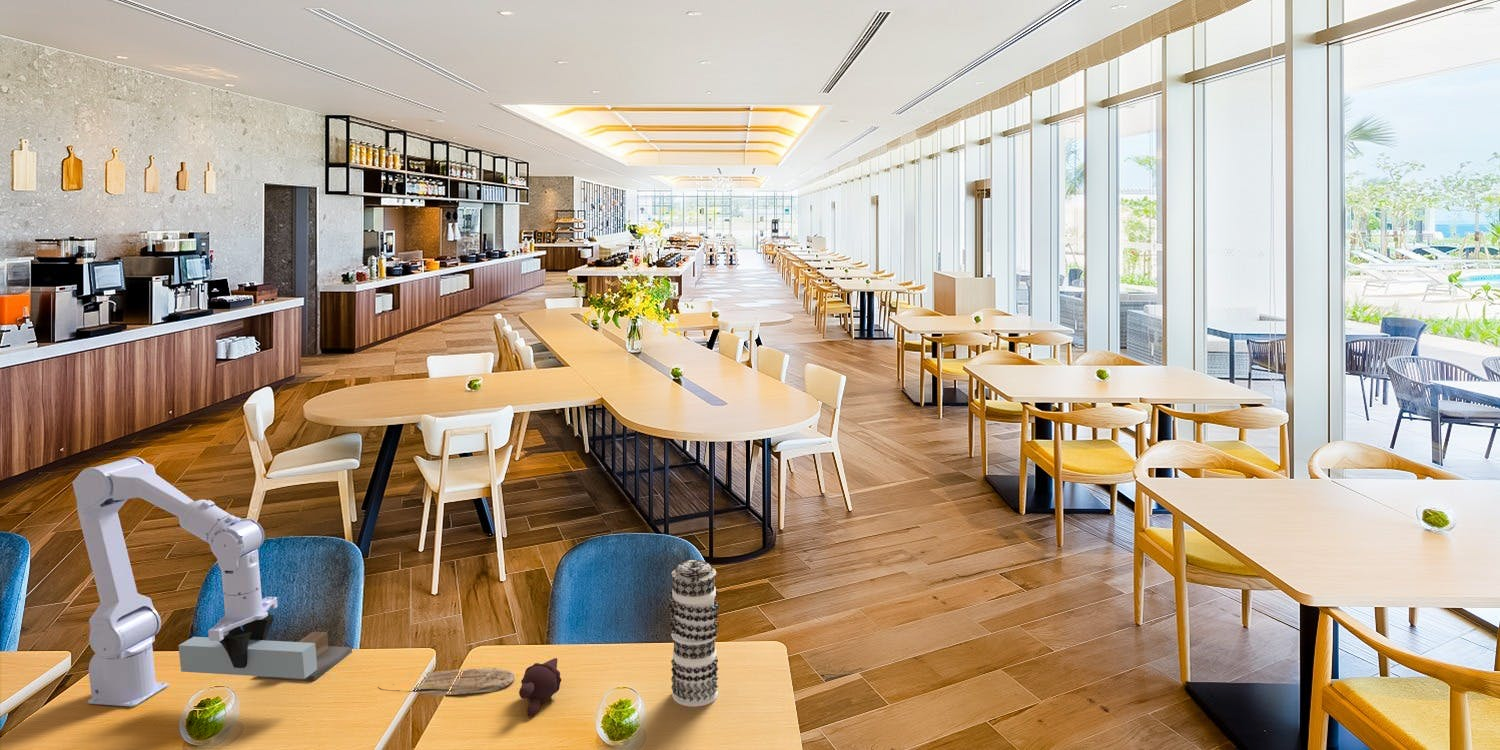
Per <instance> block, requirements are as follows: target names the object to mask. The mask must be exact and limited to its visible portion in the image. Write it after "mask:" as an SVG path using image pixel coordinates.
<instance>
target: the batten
mask: <svg viewBox="0 0 1500 750" xmlns="http://www.w3.org/2000/svg"><path fill="white" fill-rule="evenodd" d="M178 653H179V663H180V665H179V666H180V672H181V673H182V672H183V673H198V674H215V675H216V674H217V675H231V676H232V675H233V676H249V677H250V676H251V677H257V676H264V677H281V678H298V679H305V678H307V677H308V676H309V675H310V674H312V673H313V672H314V671H316V670H317V659H316V647H315V643H305V642H299V641H286V640H285V641H283V640H282V641H281V640H267V639H266V640H249V642H248V649H247V655H248V660H247V666H246V667H245V668H234V667H233V664H232V662H231V660H230V657H229V655H228V653H227V651H226V650H225V648H224V647H223V645H222V644H221V643H220V642H219V641H209V636H208V637H205V636H192V637H191V638H189V639H187V640H185V641H184V642H181V643H180V644H178Z"/></svg>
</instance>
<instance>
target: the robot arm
mask: <svg viewBox="0 0 1500 750" xmlns="http://www.w3.org/2000/svg"><path fill="white" fill-rule="evenodd" d="M71 483H72V487H73V491H74V494H75V495H74V496H75V499H76V511H77V515H78V519H79V523H80V526H81V531H82V534H83V538H84V543H85V547H86V551H87V554H88V559H89V562H90V566H91V570H92V574H93V579H94V582H95V587H96V589H97V595H98V598H99V605H98V607H97V608H96V609H95V611H94V612H93V613H92V615H91V616H90V618H89V620H88V624H89V626H90V631H89V635H88V641H89V645H90V648H91V649H92V651H93V652H94V654H93V656H92V657H91V658H90V661H89V665H88V675H89V684H90V685H89V686H90V694H91V698H90V699H89V700H87V703H88V704H91V705H105V706H116V707H131V708H132V707H133V708H134V707H136V706H137V705H139V704H140V703H143V702H144V701H146V700H147V699H149V698H150V697H152V696H154V695H155V694H157V693H158V692H160V691H162V690H163V689H165V688H167V687H168V686H169V682H165V681H164V682H163V681H162V682H161V681H157V678H156V669H155V660H154V659H155V658H154V652H153V651H154V649H153V643H154V642H155V641H156V639H155V638H156V637H155V636H156V635H157V634H158V633H159V632H160V631H161V628H162V619H161V617H160V614H159V613H158V611H157V610H156V609H155V607H154V605H153V601H152V598H150V597H148V596H145V595H143V594H140V593H138V589H137V585H136V581H135V577H134V573H133V568H132V565H131V562H130V556H129V553H128V549H127V545H126V541H125V538H124V533H123V529H122V526H121V521H120V517H119V513H118V512H119V511H120V510H121V508H122V507H123V506H124V505H125V503H126V502H127V500H130V499H137V498H139V499H142V500H144V501H146V502H149V503H150V504H152V505H154V506H155V507H158V508H160V509H161V510H164V511H166V512H168V513H170V514H172V515H174V516H176V517H178V520H179V521H178V522H179V526H180V527H181V528H182V529H184V530H185V531H187V532H188V533H191V534H193V535H194V536H195V537H197V538H199V539H201V540H202V541H204V542H205V543H207V544H209V547H210V550H211V553H212V554H213V555H214V556H215V558H216V560H217V564H218V565H217V566H218V567H219V569H220V570H221V580H222V593H223V604H224V616H223V617H221V619H220V620H219V621H218V622H217V623H216V624H215V625H214V626H212V627H211V628H210V629H207V631H208V632H207V633H208V637H209V641H219V642H220V643H221V644H222V645H223V647H224V648H225V650H226V651H227V653H228V655H229V657H230V660H231V662H232V664H233V667H234V668H245V667H246V666H247V660H248V655H247V649H248V642H249V640H266V641H267V637H268V634H269V632H270V629H271V627H272V624H273V622H274V621H275V614H270V613H268V611H269V610H275V609H277V608H278V607H279V606H278V597H277V596H266V597H264V598H263V597H262V586H261V585H262V584H261V582H262V581H261V572H260V560H259V550H258V548H260V547H261V546H262V545H263V544H264V541H265V531H264V528H263V526H261V524H260V523H259V522H257V521H256V520H255V519H254V518H251V517H246V518H241V517H239V516H238V517H237V516H235V515H234V514H230V513H228V512H227V511H226V510H223V509H222V508H220V507H219V506H217V505H216V503H215V502H214V501H213V500H210V499H208V500H207V499H198V500H193V498H190V497H189V496H188V495H186V494H185V493H183V492H182V491H180V490H179V489H178V488H176V487H175V486H173V484H171V483H169V482H168V481H166V480H165V479H163V478H162V477H161V476H159V475H158V474H157V473H156V468H155V466H154V465H153V464H151V463H148V462H146V461H145V460H144V459H143V458H142V457H139V456H127V457H126V458H124V459H120V460H116V461H113V462H109V463H106V464H101V465H97V466H94V467H93V466H90V467H86V468H85V469H82V470H81V471H80V473H78V475H77V477H75V479H74V480H73V481H72V482H71Z"/></svg>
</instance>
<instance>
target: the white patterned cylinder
mask: <svg viewBox="0 0 1500 750" xmlns="http://www.w3.org/2000/svg"><path fill="white" fill-rule="evenodd" d="M671 576H672V590H671V591H670V592H669V595H668V597H667V598H668V600H669V604H668V607H669V611H670V614H669V619H670V622H669V625H670V630H672V632H671V633H670V634H671V637H672V640H673V651H672V659H671V661H670V662H671V663H670V664H671V666H672V667H671V672H672V673H671V674H672V676H671V679H670V680H671V682H672V685H671V690H672V694H671V696H672V698H673V702H676V703H677V704H678V705H680V706H683V707H684V706H685V707H694V708H696V707H702V706H707V705H708V704H711V703H713V702H714V701H715V700H716V699H717V698H718V694H719V691H718V687H719V684H718V680H719V677H718V672H717V671H718V670H719V667H718V662H719V659H718V656H717V648H716V646H715V645H716V640H715V639H716V638H717V637H718V633H719V630H718V629H717V628H718V626H719V621H717V619H718V617H719V615H720V612H719V611H718V609H719V607H720V603H719V602H718V601H717V600H715V599H716V596H718V595H719V591H718V590H717V588H716V586H715V581H716V580H715V576H717V571H716V569H715V568H713V567H712V566H711V565H710V564H709V563H708V562H706V561H704V560H700V559H691V560H685V561H683V562H681V563H679V564H678V565H677V568H675V569H673V570H672V572H671ZM716 618H717V619H716Z"/></svg>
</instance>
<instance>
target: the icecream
mask: <svg viewBox="0 0 1500 750" xmlns="http://www.w3.org/2000/svg"><path fill="white" fill-rule="evenodd" d="M520 682H521V686H520V688H519V691H518V694H519V697H520V698H521V699H522V700H523V699H525V700H529V702H528V704H527V708H526V716H527V717H528V718H532V717H534V716H535V715H536V713H537V712H538V711H539V707H540V703H542V702H546V701H548V700H549V699H550V698H552V696H554V695H555V694H556V693H557V692H559V691H560V687H561V682H562V678H561V672H560V670H558V658H557V657H554V658H552V659H550V660H547V661H545V662H544V663H539V662H536V663H533V664H532V665H530V666H528V667H527V668H526V669H525V671H524V675H523V678H522V679H521V681H520Z"/></svg>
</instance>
